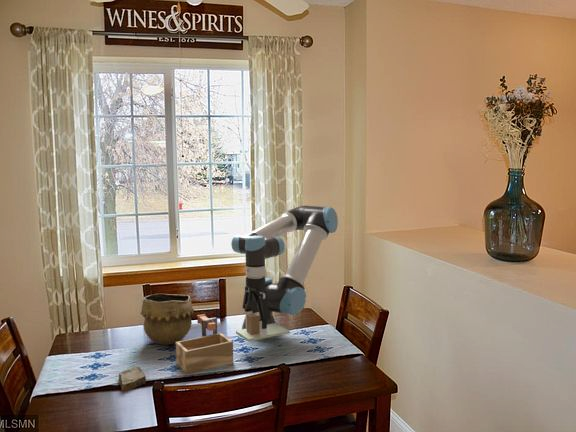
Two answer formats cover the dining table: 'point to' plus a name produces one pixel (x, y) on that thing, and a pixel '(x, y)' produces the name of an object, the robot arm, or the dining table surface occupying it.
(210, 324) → the key bar
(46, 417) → the dining table surface
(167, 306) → the clay pot
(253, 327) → the lid
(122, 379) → the stone
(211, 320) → the staple
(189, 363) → the toolbox
